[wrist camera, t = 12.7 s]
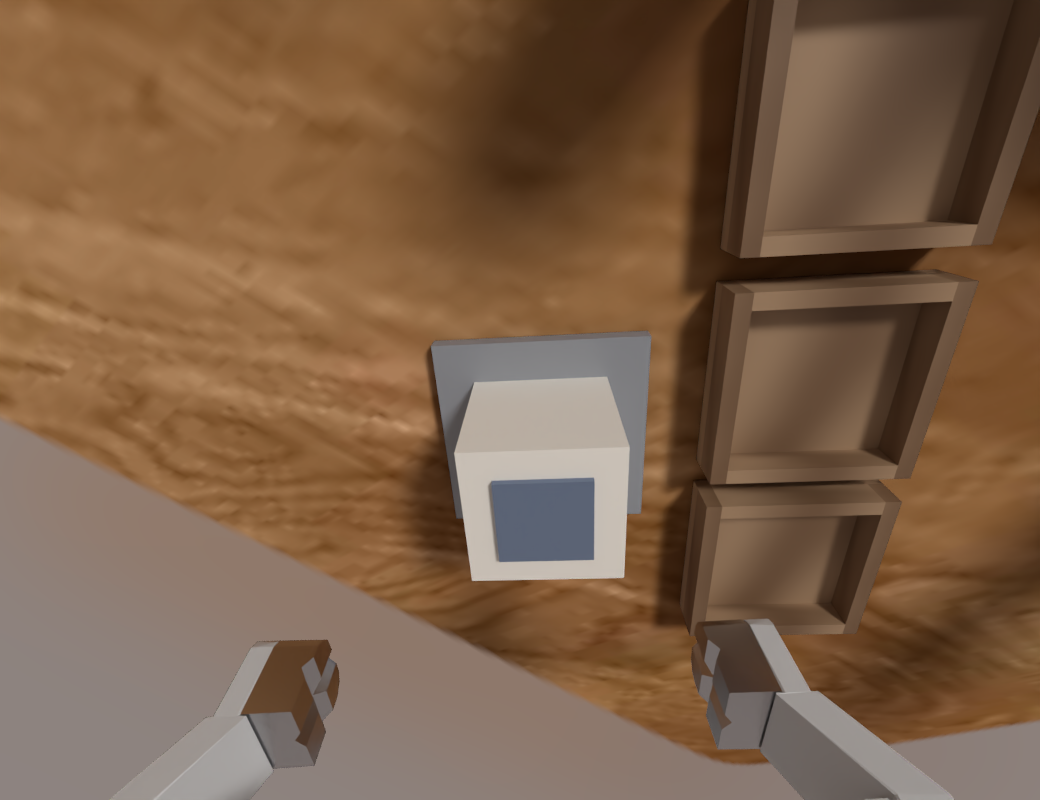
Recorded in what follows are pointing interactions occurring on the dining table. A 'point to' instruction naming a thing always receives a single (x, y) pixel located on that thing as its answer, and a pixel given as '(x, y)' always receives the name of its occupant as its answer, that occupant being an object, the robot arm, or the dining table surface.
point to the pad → (548, 359)
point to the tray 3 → (785, 553)
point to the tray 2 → (827, 374)
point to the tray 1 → (879, 124)
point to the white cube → (543, 480)
